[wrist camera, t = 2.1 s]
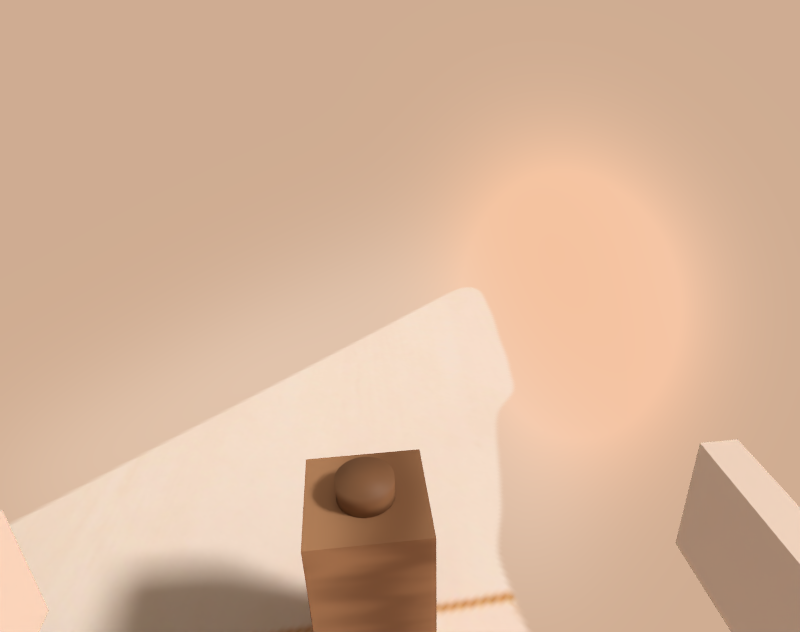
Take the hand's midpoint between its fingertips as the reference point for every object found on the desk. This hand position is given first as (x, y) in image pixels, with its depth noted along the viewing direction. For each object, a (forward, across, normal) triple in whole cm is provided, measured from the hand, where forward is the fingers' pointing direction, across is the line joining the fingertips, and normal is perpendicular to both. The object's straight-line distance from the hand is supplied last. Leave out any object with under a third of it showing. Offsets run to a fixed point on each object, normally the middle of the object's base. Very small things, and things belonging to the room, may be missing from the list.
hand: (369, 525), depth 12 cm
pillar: (+10, 0, -21) cm, 23 cm away
